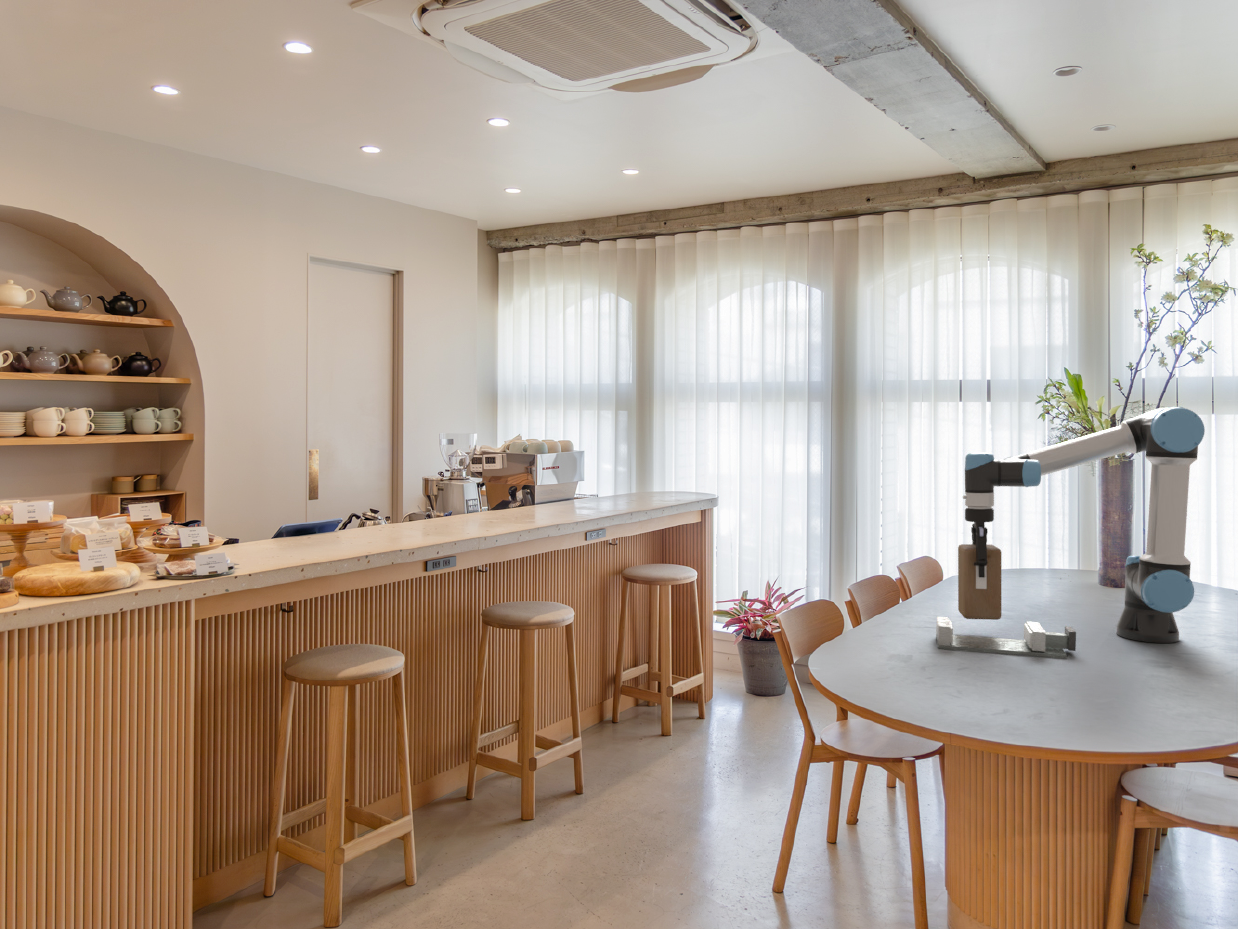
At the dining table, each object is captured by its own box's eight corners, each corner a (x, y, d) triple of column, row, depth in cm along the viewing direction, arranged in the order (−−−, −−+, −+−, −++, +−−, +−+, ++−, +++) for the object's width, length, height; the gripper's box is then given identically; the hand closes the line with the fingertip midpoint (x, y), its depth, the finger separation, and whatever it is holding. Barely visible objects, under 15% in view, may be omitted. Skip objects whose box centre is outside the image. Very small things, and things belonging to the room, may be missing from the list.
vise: (1057, 646, 235) (1058, 624, 235) (1066, 658, 223) (1067, 635, 223) (936, 637, 245) (936, 616, 244) (938, 648, 232) (938, 626, 232)
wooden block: (1002, 620, 241) (1002, 548, 240) (964, 619, 243) (963, 548, 242) (994, 612, 251) (994, 544, 250) (957, 612, 253) (957, 543, 252)
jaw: (1068, 642, 234) (1069, 624, 234) (1077, 654, 223) (1078, 634, 222) (1023, 639, 237) (1024, 621, 237) (1029, 650, 226) (1030, 631, 226)
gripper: (962, 503, 258) (962, 577, 259) (968, 511, 236) (968, 592, 237) (989, 503, 256) (989, 578, 257) (998, 511, 234) (998, 593, 235)
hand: (979, 585), depth 247 cm, fingers closed on wooden block, 10 cm apart
